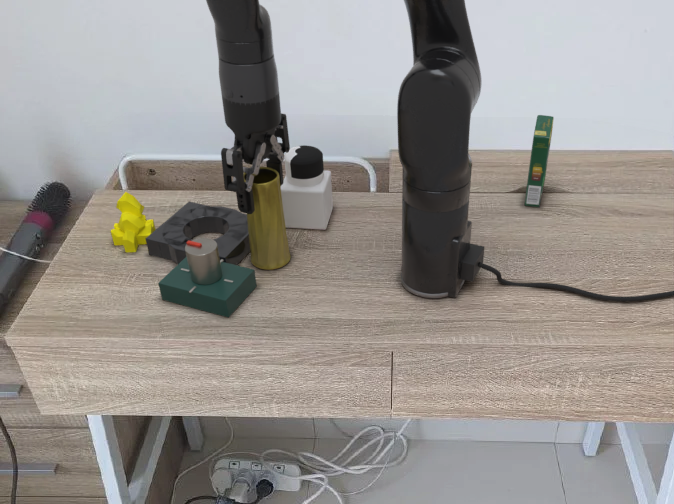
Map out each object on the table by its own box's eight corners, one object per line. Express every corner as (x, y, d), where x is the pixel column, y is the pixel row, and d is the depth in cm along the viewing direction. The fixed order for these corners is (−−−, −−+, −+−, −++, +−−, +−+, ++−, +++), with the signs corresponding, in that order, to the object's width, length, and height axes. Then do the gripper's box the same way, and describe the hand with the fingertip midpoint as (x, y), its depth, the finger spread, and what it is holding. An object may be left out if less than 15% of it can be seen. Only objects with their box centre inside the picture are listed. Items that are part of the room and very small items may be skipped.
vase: (243, 265, 119) (230, 181, 109) (262, 245, 123) (251, 162, 114) (279, 273, 117) (269, 189, 108) (297, 252, 121) (289, 169, 112)
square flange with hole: (268, 232, 126) (266, 216, 124) (225, 276, 116) (222, 260, 115) (194, 215, 130) (191, 199, 128) (146, 257, 120) (142, 240, 118)
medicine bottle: (333, 208, 132) (329, 141, 124) (326, 230, 126) (321, 162, 118) (291, 205, 132) (285, 139, 124) (282, 228, 127) (275, 160, 119)
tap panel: (258, 285, 115) (255, 267, 113) (227, 318, 109) (224, 300, 107) (193, 269, 118) (190, 251, 116) (160, 301, 112) (156, 283, 110)
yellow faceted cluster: (111, 253, 121) (99, 209, 116) (121, 225, 127) (110, 182, 122) (150, 251, 121) (139, 207, 116) (158, 224, 127) (148, 181, 122)
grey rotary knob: (228, 270, 112) (222, 239, 109) (211, 287, 109) (205, 256, 106) (201, 264, 114) (195, 233, 110) (185, 280, 110) (178, 249, 107)
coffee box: (540, 209, 132) (550, 136, 123) (523, 207, 132) (532, 134, 124) (544, 186, 138) (554, 115, 129) (528, 184, 138) (537, 113, 130)
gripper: (247, 115, 97) (260, 227, 107) (300, 74, 107) (307, 181, 117) (195, 105, 98) (213, 216, 109) (252, 65, 109) (263, 171, 119)
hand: (262, 198), depth 113 cm, fingers open, 8 cm apart
